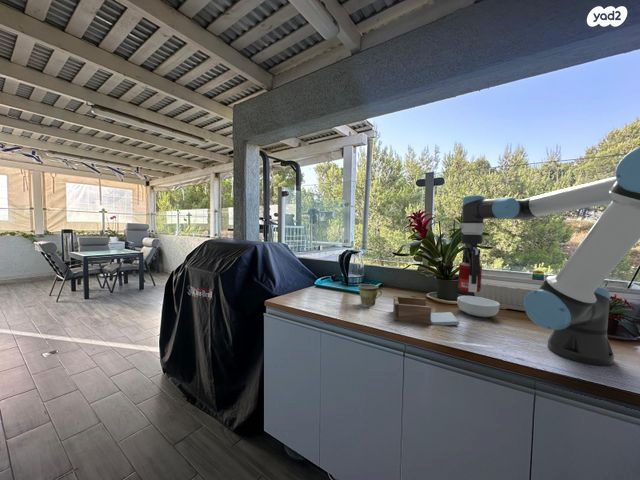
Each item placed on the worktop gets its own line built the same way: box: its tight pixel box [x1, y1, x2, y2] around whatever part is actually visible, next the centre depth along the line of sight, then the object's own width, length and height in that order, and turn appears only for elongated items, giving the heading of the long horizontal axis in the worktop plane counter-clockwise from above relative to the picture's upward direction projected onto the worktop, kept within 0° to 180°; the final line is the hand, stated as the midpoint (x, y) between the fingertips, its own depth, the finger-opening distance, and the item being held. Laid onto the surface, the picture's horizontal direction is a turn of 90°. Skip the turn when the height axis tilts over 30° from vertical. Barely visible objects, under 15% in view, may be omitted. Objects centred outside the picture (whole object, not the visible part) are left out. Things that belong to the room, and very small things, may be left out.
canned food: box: [457, 262, 483, 293], centre depth 106 cm, size 8×8×11 cm
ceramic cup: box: [358, 283, 383, 308], centre depth 132 cm, size 13×10×10 cm
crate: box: [392, 295, 434, 326], centre depth 113 cm, size 14×15×8 cm
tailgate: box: [431, 311, 460, 326], centre depth 111 cm, size 12×10×1 cm
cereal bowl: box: [456, 295, 501, 318], centre depth 120 cm, size 17×17×7 cm
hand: (469, 289), depth 106 cm, fingers closed on canned food, 8 cm apart
